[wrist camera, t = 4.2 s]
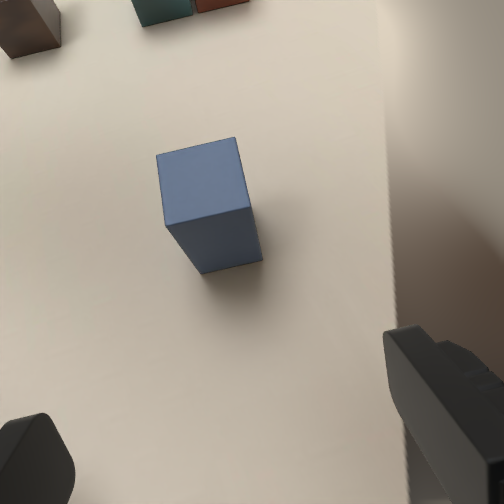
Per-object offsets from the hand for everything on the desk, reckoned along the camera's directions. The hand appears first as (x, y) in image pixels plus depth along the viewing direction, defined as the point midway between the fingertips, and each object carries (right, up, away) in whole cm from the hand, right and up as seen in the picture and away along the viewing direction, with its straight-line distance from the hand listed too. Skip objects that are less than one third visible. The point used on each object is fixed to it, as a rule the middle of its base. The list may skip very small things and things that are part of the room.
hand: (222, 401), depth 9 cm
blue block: (-1, +4, +19) cm, 19 cm away
